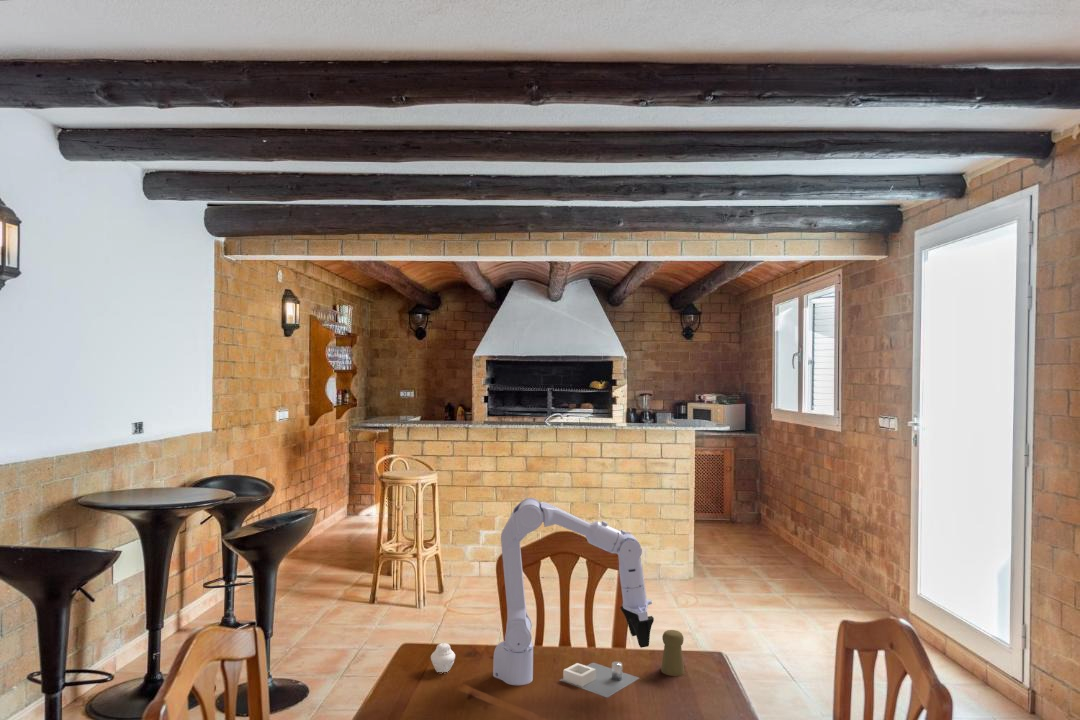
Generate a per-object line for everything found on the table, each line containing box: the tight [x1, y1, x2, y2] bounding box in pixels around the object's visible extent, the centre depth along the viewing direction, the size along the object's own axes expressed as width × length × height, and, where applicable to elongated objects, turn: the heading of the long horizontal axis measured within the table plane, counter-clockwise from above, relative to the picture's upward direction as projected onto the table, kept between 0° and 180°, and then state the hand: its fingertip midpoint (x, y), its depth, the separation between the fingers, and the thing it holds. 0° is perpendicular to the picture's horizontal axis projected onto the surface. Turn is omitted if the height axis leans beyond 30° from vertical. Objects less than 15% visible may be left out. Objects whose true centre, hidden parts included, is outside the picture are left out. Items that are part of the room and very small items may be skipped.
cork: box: [660, 629, 685, 677], centre depth 176 cm, size 6×6×11 cm
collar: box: [562, 662, 596, 687], centre depth 171 cm, size 6×6×2 cm
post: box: [611, 661, 623, 681], centre depth 171 cm, size 3×3×4 cm
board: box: [559, 662, 640, 698], centre depth 171 cm, size 14×14×1 cm
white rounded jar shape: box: [430, 642, 456, 674], centre depth 177 cm, size 6×6×7 cm
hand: (640, 640), depth 171 cm, fingers open, 7 cm apart
